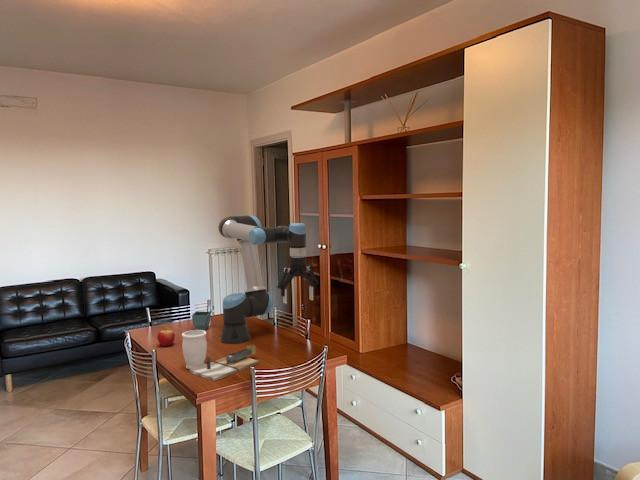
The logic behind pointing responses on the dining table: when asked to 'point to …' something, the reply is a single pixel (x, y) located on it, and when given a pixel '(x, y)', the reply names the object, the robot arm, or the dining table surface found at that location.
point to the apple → (166, 337)
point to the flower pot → (201, 320)
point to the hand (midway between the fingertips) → (298, 301)
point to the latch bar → (241, 353)
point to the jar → (194, 348)
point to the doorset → (223, 368)
